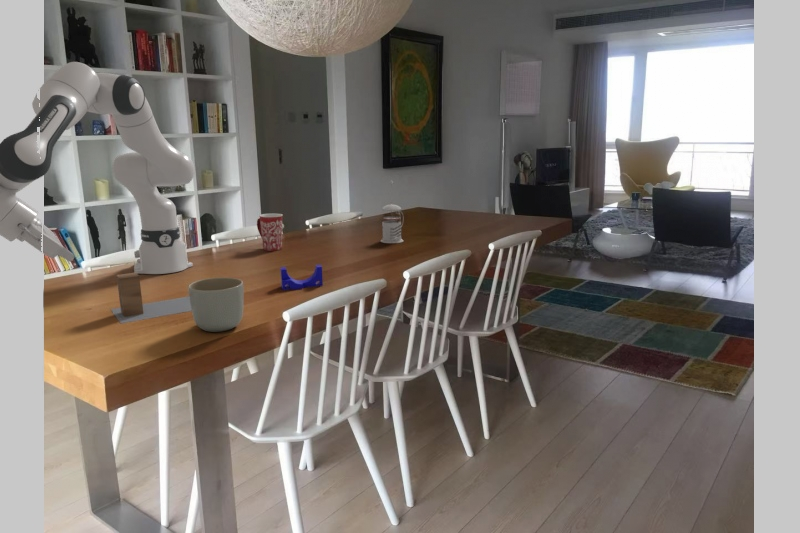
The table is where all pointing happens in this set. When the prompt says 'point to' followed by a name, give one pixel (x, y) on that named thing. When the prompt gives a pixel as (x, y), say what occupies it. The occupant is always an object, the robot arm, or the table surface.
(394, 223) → the french press
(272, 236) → the mug
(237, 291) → the planter
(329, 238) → the table surface
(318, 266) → the blue cradle bracket
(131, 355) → the table surface
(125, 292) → the walnut block
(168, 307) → the mat
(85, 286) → the table surface
